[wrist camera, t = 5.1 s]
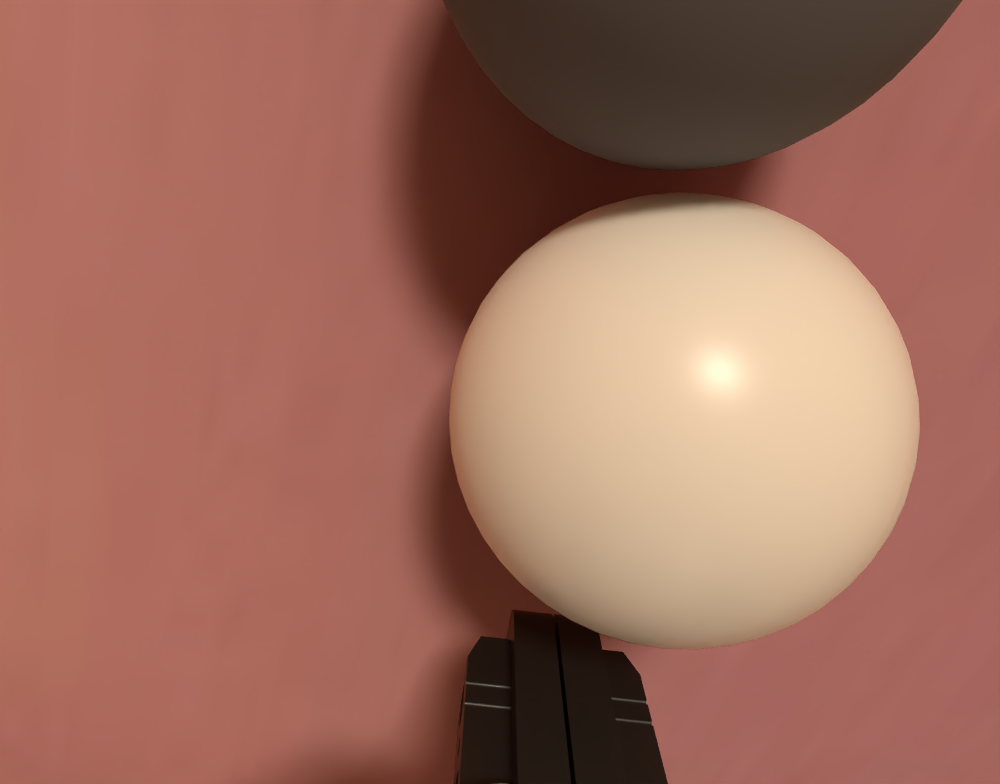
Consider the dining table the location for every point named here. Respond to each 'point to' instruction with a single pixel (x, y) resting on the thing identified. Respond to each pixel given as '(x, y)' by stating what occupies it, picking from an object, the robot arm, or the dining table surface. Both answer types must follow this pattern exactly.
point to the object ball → (692, 69)
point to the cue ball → (684, 420)
